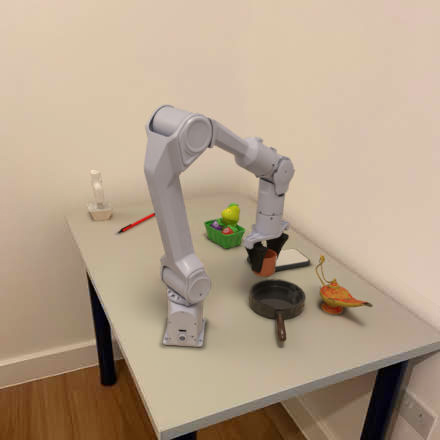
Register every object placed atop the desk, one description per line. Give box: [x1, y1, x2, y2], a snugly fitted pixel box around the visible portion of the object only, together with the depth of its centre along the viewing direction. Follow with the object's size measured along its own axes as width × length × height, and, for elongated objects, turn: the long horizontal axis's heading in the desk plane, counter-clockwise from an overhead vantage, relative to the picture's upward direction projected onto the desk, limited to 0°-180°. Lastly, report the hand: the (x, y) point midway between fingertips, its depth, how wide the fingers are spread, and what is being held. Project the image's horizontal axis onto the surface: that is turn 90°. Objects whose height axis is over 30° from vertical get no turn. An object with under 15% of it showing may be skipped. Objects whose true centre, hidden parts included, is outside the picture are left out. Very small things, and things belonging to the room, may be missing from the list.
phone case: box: [246, 248, 311, 272], centre depth 121 cm, size 9×2×16 cm
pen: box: [117, 212, 155, 234], centre depth 140 cm, size 1×19×1 cm, turn 151°
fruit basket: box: [203, 202, 246, 250], centre depth 129 cm, size 11×9×11 cm
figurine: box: [86, 168, 114, 221], centre depth 139 cm, size 7×9×15 cm
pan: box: [248, 278, 306, 320], centre depth 103 cm, size 13×13×3 cm
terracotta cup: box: [252, 249, 277, 278], centre depth 101 cm, size 5×5×5 cm
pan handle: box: [275, 310, 287, 343], centre depth 93 cm, size 11×2×2 cm, turn 178°
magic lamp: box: [315, 254, 374, 315], centre depth 99 cm, size 7×18×11 cm, turn 30°
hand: (263, 266), depth 102 cm, fingers closed on terracotta cup, 5 cm apart
